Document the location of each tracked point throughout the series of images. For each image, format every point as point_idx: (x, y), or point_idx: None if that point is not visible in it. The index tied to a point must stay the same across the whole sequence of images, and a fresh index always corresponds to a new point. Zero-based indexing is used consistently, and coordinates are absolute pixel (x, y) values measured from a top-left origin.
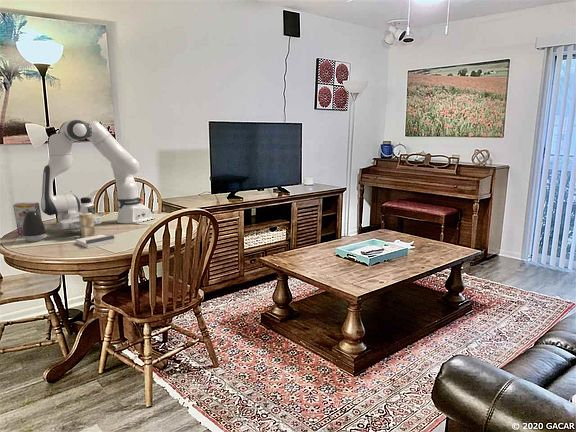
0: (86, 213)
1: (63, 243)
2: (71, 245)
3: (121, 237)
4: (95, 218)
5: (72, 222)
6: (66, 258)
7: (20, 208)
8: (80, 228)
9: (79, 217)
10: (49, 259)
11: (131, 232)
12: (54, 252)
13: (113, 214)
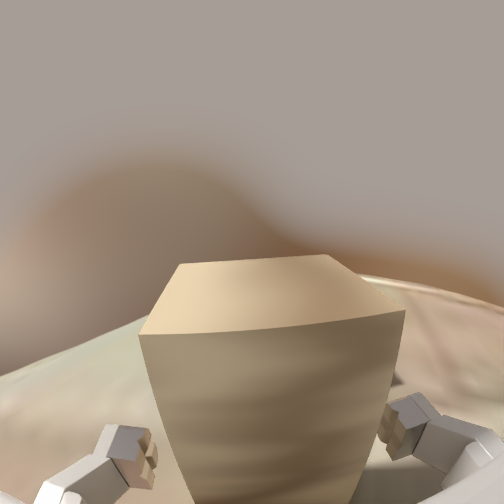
0: (222, 312)
1: (453, 405)
2: (400, 364)
3: (128, 366)
4: (16, 500)
5: (485, 466)
6: (388, 282)
7: None
8: (349, 495)
9: (386, 368)
10: (430, 286)
11: (24, 393)
12: (441, 317)
13: None
